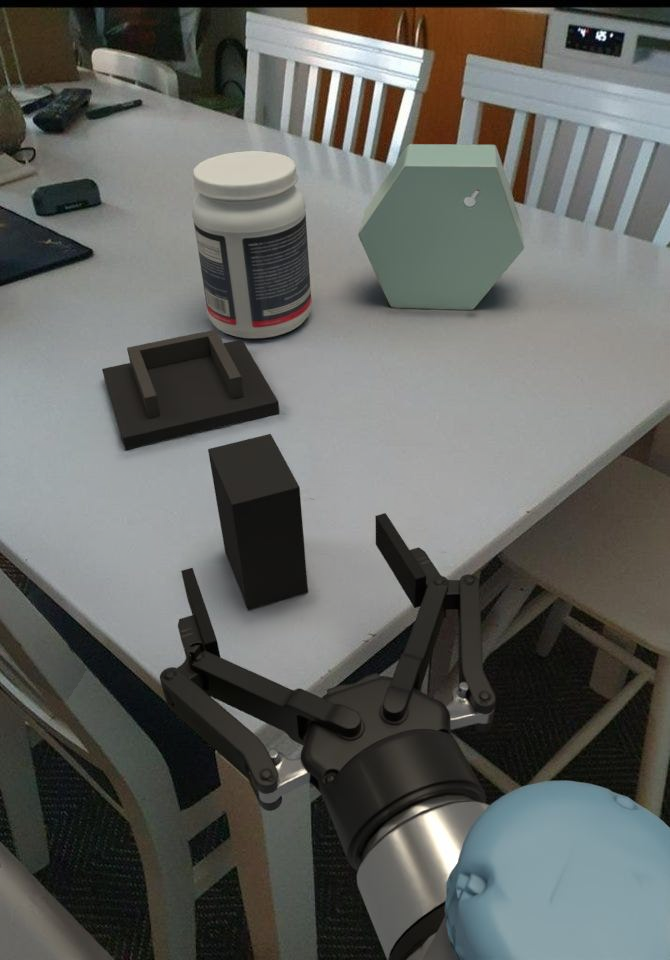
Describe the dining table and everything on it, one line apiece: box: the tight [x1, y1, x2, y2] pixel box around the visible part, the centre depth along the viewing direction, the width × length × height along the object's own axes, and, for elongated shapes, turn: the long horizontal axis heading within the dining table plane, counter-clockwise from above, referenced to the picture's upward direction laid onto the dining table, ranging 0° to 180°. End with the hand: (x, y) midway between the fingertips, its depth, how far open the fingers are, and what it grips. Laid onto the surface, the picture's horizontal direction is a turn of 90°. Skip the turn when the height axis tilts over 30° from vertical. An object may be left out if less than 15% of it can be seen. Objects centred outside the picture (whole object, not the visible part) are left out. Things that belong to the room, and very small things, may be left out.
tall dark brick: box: [207, 433, 309, 611], centre depth 63 cm, size 5×7×11 cm
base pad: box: [101, 329, 280, 450], centre depth 86 cm, size 16×14×4 cm
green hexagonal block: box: [357, 143, 525, 311], centre depth 98 cm, size 17×8×21 cm, turn 81°
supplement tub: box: [191, 150, 313, 339], centre depth 94 cm, size 13×13×18 cm
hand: (287, 554), depth 55 cm, fingers open, 13 cm apart
